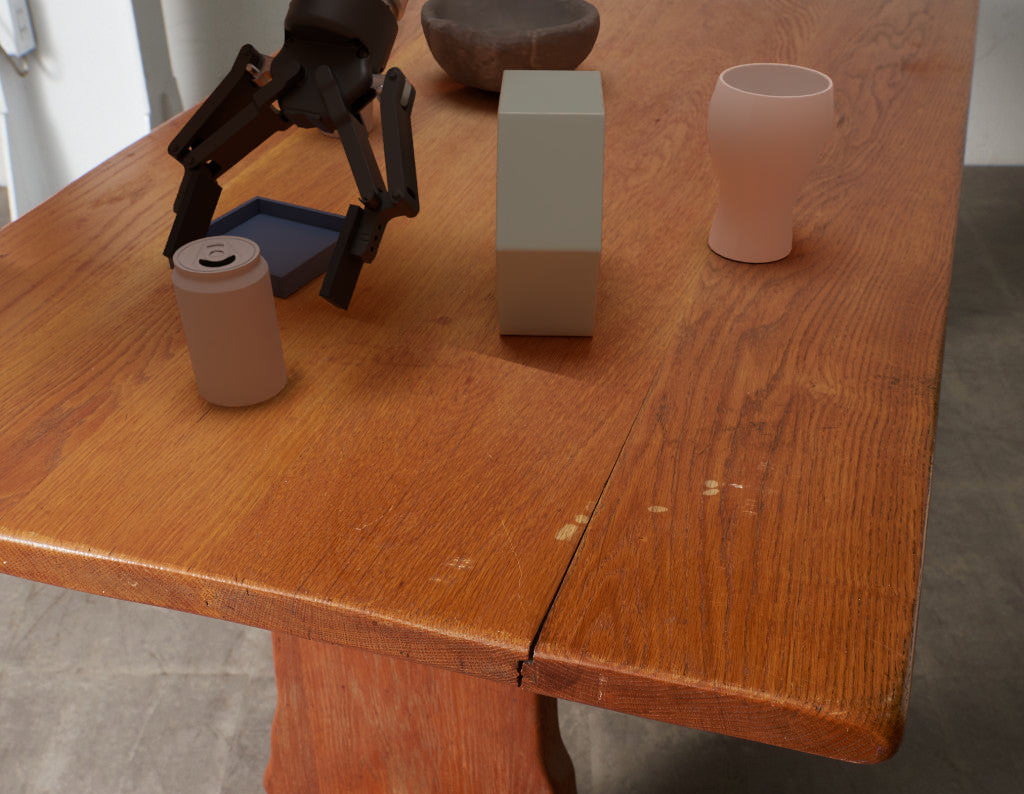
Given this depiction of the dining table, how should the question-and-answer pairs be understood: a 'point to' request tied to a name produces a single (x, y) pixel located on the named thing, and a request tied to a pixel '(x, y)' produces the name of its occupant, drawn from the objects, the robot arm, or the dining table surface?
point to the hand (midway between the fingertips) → (252, 282)
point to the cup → (764, 153)
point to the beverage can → (229, 320)
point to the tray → (283, 239)
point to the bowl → (508, 37)
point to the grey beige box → (549, 201)
